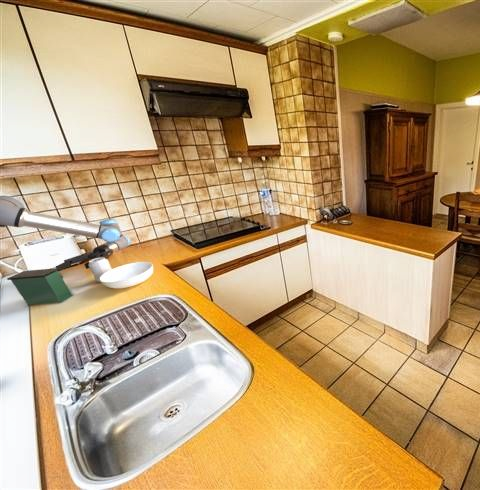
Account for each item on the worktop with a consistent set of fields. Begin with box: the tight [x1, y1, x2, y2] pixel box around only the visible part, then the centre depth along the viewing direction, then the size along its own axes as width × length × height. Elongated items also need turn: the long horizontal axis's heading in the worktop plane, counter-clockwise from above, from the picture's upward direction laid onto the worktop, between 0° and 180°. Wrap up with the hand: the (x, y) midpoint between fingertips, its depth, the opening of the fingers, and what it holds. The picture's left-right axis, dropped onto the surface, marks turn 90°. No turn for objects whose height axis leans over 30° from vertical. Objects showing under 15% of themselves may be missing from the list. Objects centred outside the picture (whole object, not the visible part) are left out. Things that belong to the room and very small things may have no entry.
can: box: [88, 257, 113, 283], centre depth 139 cm, size 8×8×12 cm
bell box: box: [6, 267, 73, 307], centre depth 122 cm, size 15×7×15 cm, turn 95°
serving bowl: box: [100, 261, 154, 289], centre depth 135 cm, size 21×21×7 cm
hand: (71, 267), depth 135 cm, fingers open, 13 cm apart
